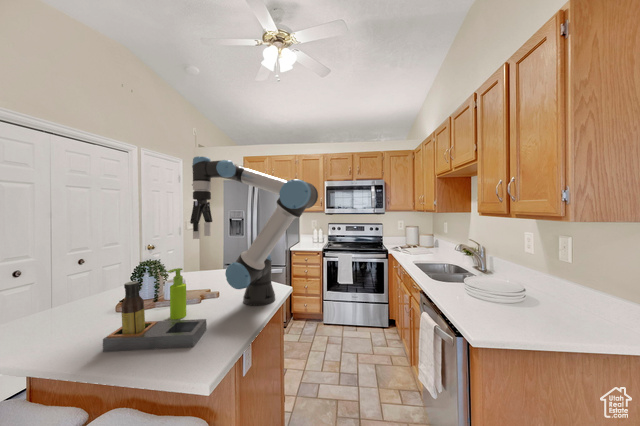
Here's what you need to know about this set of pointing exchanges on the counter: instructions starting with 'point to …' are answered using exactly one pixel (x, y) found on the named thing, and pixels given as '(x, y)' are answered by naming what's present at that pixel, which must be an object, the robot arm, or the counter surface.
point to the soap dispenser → (177, 296)
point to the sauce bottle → (132, 310)
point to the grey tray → (157, 336)
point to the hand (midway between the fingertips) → (202, 237)
